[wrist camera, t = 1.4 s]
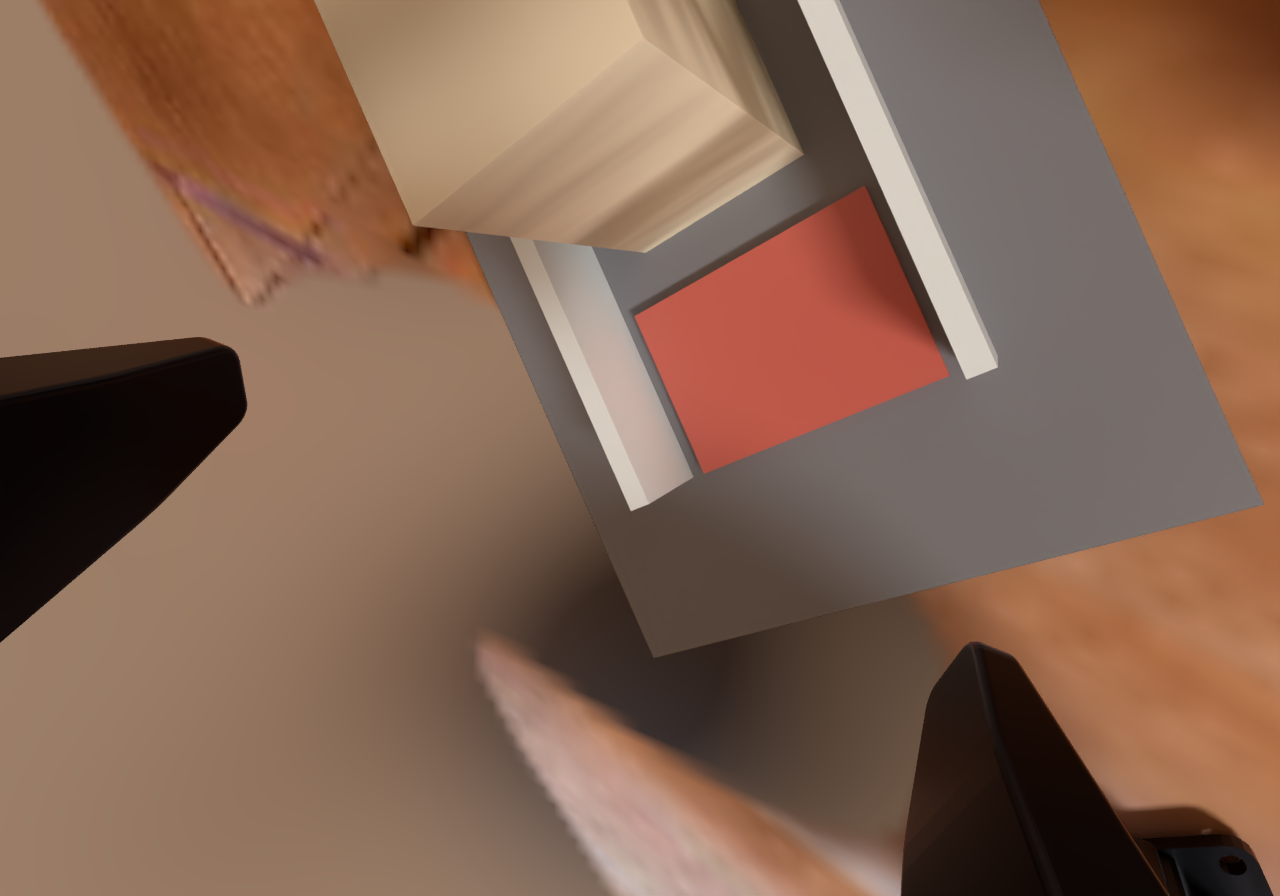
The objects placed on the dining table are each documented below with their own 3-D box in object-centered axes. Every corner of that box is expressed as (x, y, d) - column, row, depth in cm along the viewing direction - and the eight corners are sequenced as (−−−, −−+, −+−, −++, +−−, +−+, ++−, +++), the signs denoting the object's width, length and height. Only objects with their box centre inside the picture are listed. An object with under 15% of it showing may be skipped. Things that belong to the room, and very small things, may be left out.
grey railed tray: (1251, 495, 15) (1322, 551, 12) (664, 647, 23) (608, 706, 20) (774, -573, 15) (713, -813, 12) (353, -57, 23) (245, -116, 20)
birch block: (804, 154, 17) (643, 37, 9) (645, 252, 20) (412, 225, 12) (723, -27, 17) (496, -294, 9) (575, 94, 20) (297, -38, 12)
